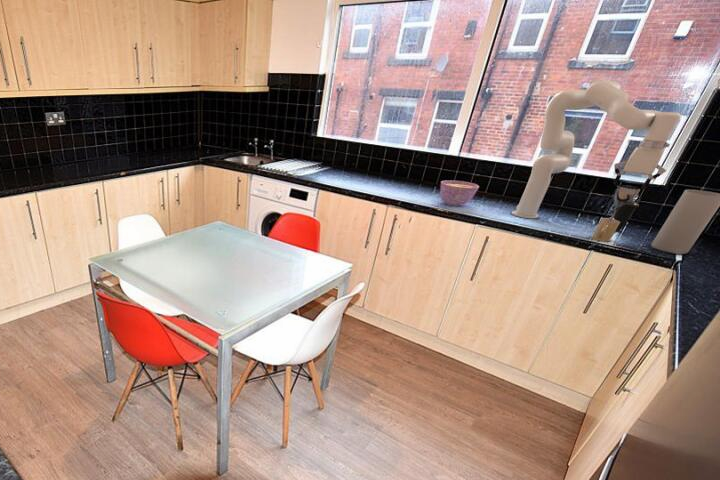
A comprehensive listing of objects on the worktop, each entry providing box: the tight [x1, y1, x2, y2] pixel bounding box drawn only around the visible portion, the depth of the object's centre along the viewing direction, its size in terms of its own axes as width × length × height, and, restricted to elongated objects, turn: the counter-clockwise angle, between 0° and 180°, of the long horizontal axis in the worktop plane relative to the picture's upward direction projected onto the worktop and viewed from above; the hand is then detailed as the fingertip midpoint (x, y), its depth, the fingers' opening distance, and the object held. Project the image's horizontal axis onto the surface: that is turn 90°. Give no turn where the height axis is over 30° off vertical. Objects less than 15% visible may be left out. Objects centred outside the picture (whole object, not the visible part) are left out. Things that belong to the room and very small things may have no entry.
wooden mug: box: [591, 218, 620, 242], centre depth 198 cm, size 10×7×9 cm
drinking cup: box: [614, 200, 640, 233], centre depth 209 cm, size 8×8×20 cm
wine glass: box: [600, 184, 641, 223], centre depth 192 cm, size 8×8×15 cm
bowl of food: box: [439, 179, 480, 207], centre depth 246 cm, size 20×20×12 cm
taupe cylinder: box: [650, 189, 720, 255], centre depth 184 cm, size 12×12×25 cm
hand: (628, 186), depth 188 cm, fingers open, 9 cm apart
